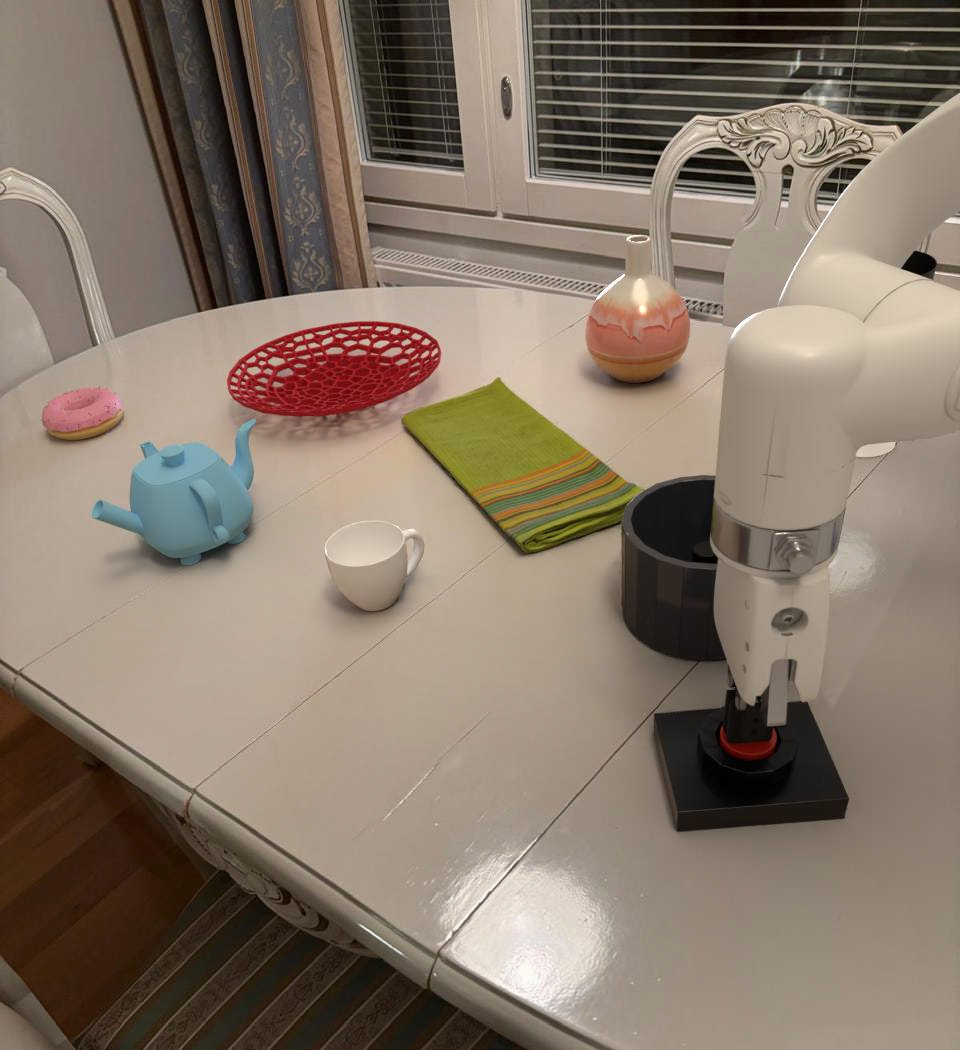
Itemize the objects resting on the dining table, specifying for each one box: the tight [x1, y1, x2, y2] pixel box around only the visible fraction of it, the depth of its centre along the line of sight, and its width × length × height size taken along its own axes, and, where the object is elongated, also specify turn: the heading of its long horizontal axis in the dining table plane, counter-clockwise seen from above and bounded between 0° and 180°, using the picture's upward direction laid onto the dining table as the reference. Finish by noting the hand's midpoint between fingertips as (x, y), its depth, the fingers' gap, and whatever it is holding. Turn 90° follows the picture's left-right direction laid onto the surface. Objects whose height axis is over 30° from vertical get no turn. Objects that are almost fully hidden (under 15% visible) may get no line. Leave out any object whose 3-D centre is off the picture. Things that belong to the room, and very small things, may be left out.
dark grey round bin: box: [620, 474, 727, 663], centre depth 82 cm, size 15×15×10 cm
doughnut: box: [40, 386, 124, 441], centre depth 127 cm, size 11×11×4 cm
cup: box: [323, 519, 425, 612], centre depth 89 cm, size 8×10×7 cm
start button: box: [719, 726, 777, 760], centre depth 67 cm, size 4×4×2 cm
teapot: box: [91, 418, 257, 566], centre depth 99 cm, size 15×14×11 cm
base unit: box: [652, 700, 850, 832], centre depth 68 cm, size 12×10×4 cm
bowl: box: [226, 320, 442, 418], centre depth 126 cm, size 29×29×5 cm
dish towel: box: [400, 376, 645, 553], centre depth 107 cm, size 15×36×3 cm, turn 25°
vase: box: [584, 234, 691, 384], centre depth 119 cm, size 14×14×18 cm
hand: (746, 734), depth 67 cm, fingers closed
